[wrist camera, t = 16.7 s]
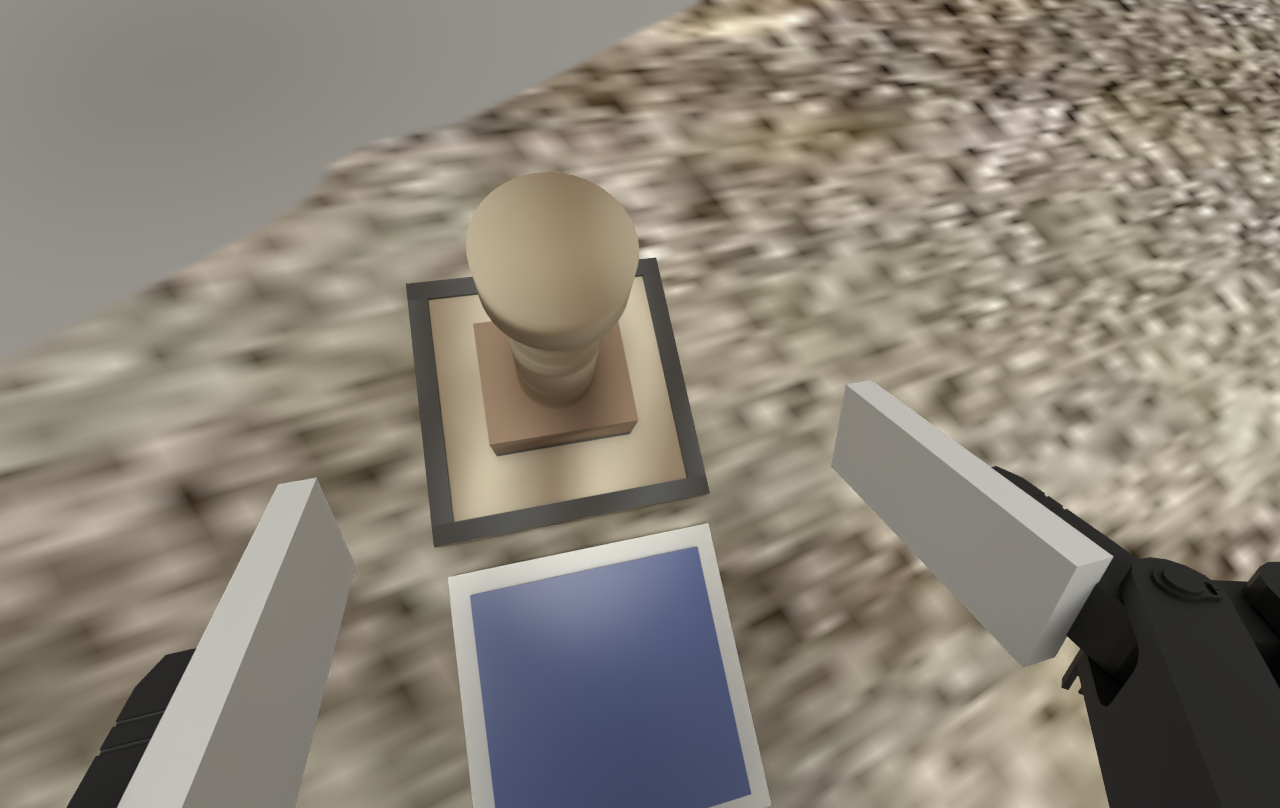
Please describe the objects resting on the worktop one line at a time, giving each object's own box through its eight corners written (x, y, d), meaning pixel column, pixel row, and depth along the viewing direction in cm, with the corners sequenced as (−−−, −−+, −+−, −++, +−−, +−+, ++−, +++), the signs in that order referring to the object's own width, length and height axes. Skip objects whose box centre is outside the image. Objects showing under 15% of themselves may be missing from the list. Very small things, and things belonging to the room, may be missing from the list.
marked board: (437, 547, 26) (433, 547, 26) (409, 290, 30) (405, 283, 29) (705, 494, 29) (709, 493, 28) (653, 264, 32) (655, 257, 32)
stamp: (496, 456, 27) (436, 362, 14) (481, 347, 29) (413, 163, 15) (629, 434, 29) (696, 328, 15) (609, 331, 30) (653, 148, 16)
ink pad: (486, 884, 23) (481, 909, 22) (451, 576, 26) (444, 577, 25) (763, 795, 26) (777, 812, 24) (703, 523, 29) (712, 522, 27)
